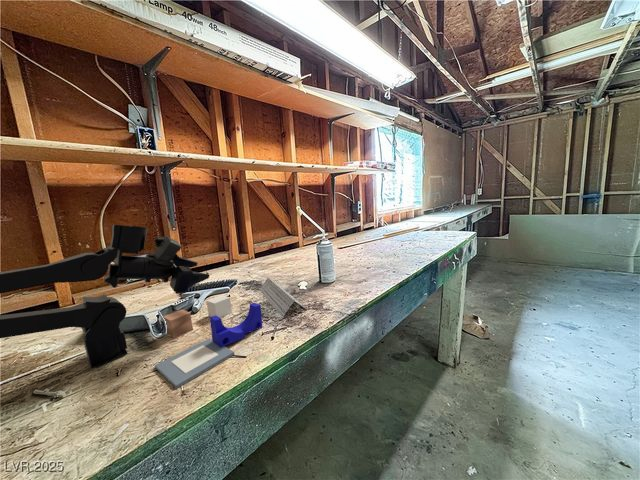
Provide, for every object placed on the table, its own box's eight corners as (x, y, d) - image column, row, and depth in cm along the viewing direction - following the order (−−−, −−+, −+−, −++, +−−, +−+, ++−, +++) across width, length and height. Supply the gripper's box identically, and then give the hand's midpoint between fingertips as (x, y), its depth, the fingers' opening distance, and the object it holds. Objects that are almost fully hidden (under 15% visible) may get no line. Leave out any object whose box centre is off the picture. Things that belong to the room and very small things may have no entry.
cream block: (217, 319, 74) (214, 303, 73) (208, 315, 77) (206, 300, 77) (232, 312, 78) (229, 297, 77) (223, 309, 81) (221, 294, 80)
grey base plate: (176, 388, 46) (176, 385, 46) (155, 367, 53) (154, 364, 53) (234, 354, 55) (234, 351, 55) (209, 340, 62) (209, 337, 62)
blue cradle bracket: (220, 347, 57) (217, 322, 57) (212, 341, 60) (209, 317, 60) (265, 328, 66) (263, 306, 65) (256, 323, 69) (254, 302, 68)
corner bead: (257, 291, 97) (256, 279, 96) (280, 286, 101) (278, 274, 100) (281, 320, 71) (279, 303, 70) (309, 311, 75) (308, 295, 74)
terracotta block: (173, 338, 65) (170, 320, 64) (166, 333, 68) (162, 316, 67) (193, 330, 69) (190, 312, 68) (185, 325, 72) (182, 309, 71)
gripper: (158, 250, 56) (223, 255, 68) (140, 227, 69) (198, 235, 80) (147, 295, 58) (213, 293, 69) (131, 265, 70) (189, 267, 82)
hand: (202, 269), depth 75 cm, fingers open, 9 cm apart
